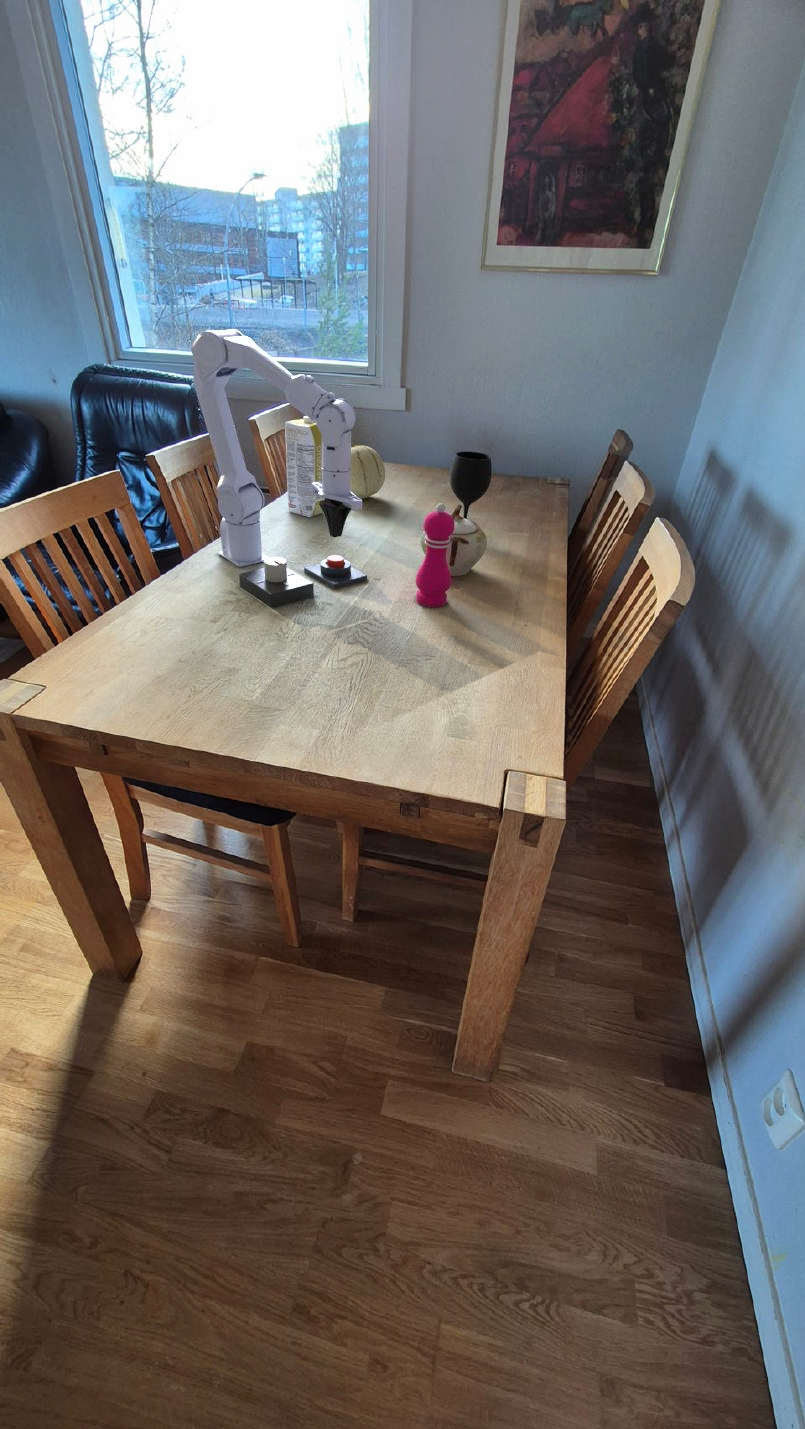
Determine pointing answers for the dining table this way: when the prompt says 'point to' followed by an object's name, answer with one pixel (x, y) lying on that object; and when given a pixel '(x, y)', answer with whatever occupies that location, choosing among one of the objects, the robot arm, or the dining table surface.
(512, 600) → the dining table surface
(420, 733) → the dining table surface
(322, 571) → the button block
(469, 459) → the wine glass
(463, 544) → the sugar bowl
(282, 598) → the panel
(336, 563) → the power button
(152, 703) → the dining table surface
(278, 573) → the timer knob
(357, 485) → the cantaloupe
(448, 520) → the pepper mill
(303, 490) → the juice carton
